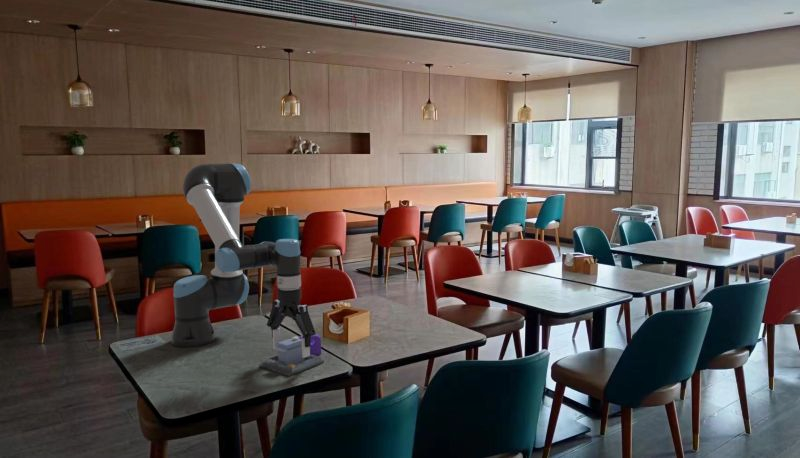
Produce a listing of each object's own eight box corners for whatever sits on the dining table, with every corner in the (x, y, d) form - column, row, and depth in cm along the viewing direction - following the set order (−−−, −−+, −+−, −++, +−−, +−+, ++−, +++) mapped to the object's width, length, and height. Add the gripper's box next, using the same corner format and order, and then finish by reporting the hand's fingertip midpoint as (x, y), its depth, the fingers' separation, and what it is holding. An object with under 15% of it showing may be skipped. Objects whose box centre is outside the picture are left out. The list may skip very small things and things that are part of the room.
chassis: (259, 366, 193) (259, 358, 192) (294, 354, 204) (294, 346, 204) (289, 376, 184) (288, 367, 184) (323, 362, 196) (323, 354, 196)
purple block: (321, 355, 204) (320, 335, 203) (300, 357, 203) (300, 337, 202) (317, 344, 216) (317, 325, 215) (298, 346, 214) (297, 327, 213)
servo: (274, 365, 192) (273, 341, 191) (298, 356, 199) (297, 333, 198) (284, 368, 189) (283, 344, 188) (307, 359, 197) (306, 336, 196)
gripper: (254, 285, 196) (257, 348, 199) (307, 295, 181) (310, 363, 183) (272, 281, 202) (274, 342, 204) (325, 290, 187) (327, 356, 189)
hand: (291, 352), depth 194 cm, fingers open, 13 cm apart
